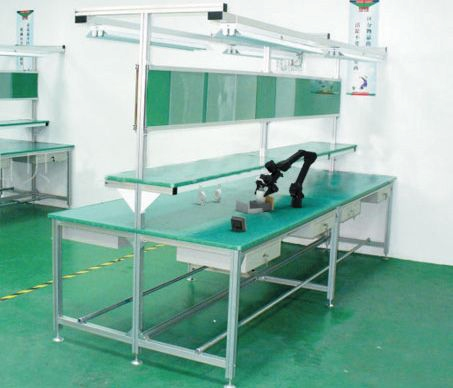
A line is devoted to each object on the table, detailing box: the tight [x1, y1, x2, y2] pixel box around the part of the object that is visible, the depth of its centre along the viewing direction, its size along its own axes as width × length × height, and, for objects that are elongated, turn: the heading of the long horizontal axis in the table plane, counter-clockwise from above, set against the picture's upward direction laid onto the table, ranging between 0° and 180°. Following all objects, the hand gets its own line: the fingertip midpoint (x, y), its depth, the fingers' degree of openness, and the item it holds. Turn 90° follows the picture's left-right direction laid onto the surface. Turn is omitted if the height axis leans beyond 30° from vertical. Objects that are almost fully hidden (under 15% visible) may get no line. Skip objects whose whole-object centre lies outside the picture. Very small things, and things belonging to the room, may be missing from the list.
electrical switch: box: [230, 214, 247, 232], centre depth 361 cm, size 8×5×8 cm, turn 60°
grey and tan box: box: [248, 195, 275, 212], centre depth 422 cm, size 11×12×8 cm
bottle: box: [255, 187, 267, 203], centre depth 421 cm, size 6×6×13 cm
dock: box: [235, 199, 265, 215], centre depth 417 cm, size 13×13×6 cm
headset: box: [197, 183, 223, 206], centre depth 435 cm, size 20×7×18 cm, turn 137°
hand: (259, 195), depth 420 cm, fingers open, 9 cm apart
